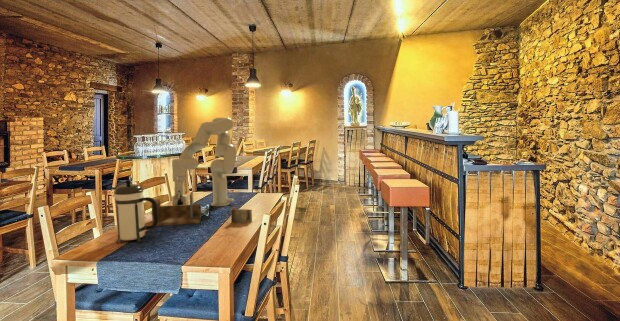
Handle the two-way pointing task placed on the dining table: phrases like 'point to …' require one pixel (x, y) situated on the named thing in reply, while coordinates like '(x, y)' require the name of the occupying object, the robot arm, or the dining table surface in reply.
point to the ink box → (184, 200)
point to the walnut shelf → (175, 214)
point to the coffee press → (132, 212)
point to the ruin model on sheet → (241, 215)
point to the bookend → (193, 216)
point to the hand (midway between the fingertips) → (180, 206)
